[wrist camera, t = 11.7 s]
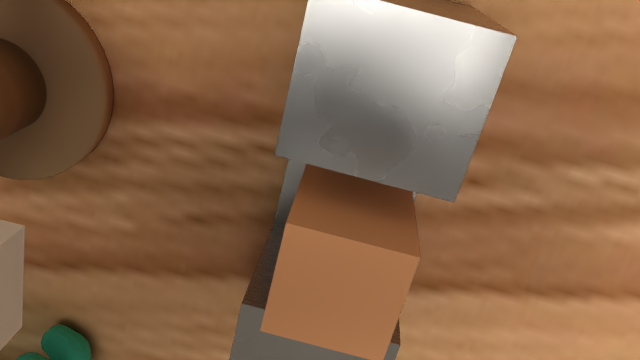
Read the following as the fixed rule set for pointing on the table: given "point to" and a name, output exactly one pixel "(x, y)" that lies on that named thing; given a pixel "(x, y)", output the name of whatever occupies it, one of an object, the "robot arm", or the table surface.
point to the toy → (61, 345)
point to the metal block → (377, 120)
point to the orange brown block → (343, 264)
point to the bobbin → (49, 88)
